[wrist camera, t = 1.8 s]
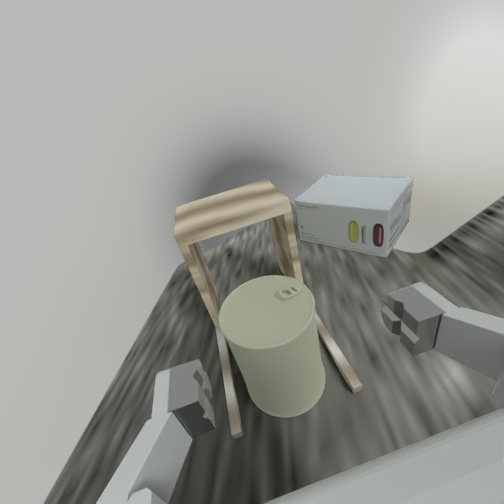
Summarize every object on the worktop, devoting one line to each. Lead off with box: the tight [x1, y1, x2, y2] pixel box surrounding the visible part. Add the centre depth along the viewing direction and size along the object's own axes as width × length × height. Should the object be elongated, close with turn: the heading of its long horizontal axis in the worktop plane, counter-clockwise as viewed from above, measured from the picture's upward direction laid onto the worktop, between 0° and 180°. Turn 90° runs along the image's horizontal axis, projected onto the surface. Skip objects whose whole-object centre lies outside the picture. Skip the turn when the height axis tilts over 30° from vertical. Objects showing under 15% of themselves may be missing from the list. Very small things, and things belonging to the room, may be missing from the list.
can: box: [218, 275, 326, 418], centre depth 27 cm, size 9×9×12 cm
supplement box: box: [295, 175, 413, 257], centre depth 50 cm, size 17×13×9 cm
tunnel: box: [174, 179, 362, 440], centre depth 32 cm, size 24×14×16 cm, turn 13°
